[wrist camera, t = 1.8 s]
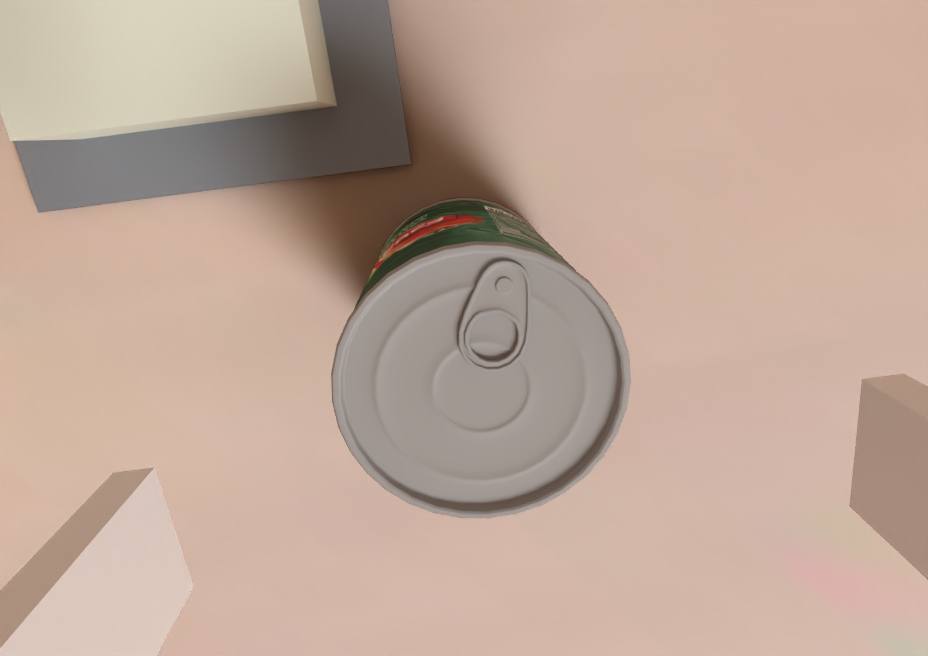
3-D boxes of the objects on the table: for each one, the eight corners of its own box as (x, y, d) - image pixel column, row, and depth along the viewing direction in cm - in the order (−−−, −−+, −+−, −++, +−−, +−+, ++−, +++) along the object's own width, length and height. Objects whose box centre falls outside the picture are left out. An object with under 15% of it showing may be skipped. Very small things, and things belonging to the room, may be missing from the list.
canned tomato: (532, 385, 28) (589, 539, 17) (361, 358, 27) (313, 502, 16) (573, 215, 25) (669, 273, 15) (388, 180, 25) (351, 215, 14)
